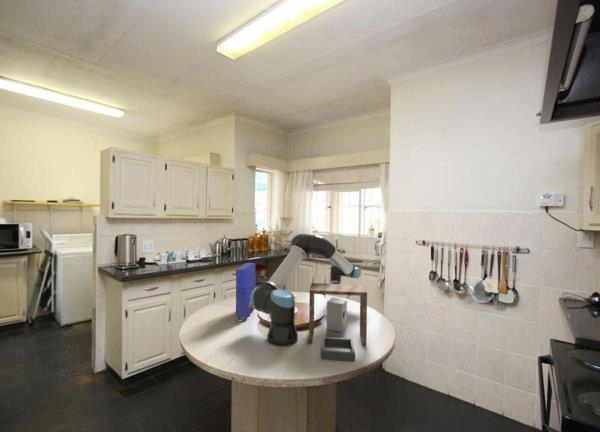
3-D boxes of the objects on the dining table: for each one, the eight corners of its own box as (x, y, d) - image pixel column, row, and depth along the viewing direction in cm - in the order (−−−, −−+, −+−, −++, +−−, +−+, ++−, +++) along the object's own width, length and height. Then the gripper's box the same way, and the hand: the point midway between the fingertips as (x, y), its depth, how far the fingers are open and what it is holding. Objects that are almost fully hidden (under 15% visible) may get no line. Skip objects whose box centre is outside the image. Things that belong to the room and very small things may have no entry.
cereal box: (246, 308, 185) (246, 262, 185) (255, 308, 185) (255, 262, 184) (235, 320, 163) (236, 269, 163) (245, 321, 163) (246, 269, 163)
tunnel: (309, 343, 136) (309, 290, 136) (310, 331, 150) (311, 283, 150) (366, 346, 133) (367, 292, 133) (362, 333, 147) (363, 285, 147)
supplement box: (342, 332, 149) (342, 304, 149) (326, 329, 153) (326, 301, 153) (347, 326, 157) (347, 299, 157) (331, 323, 161) (332, 297, 161)
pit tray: (321, 359, 121) (321, 351, 121) (322, 344, 135) (322, 337, 135) (354, 361, 120) (355, 353, 120) (352, 346, 134) (352, 338, 134)
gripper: (354, 293, 187) (357, 303, 166) (317, 291, 190) (315, 301, 168) (354, 282, 187) (358, 290, 166) (317, 280, 190) (315, 288, 168)
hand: (336, 295), depth 167 cm, fingers open, 13 cm apart
